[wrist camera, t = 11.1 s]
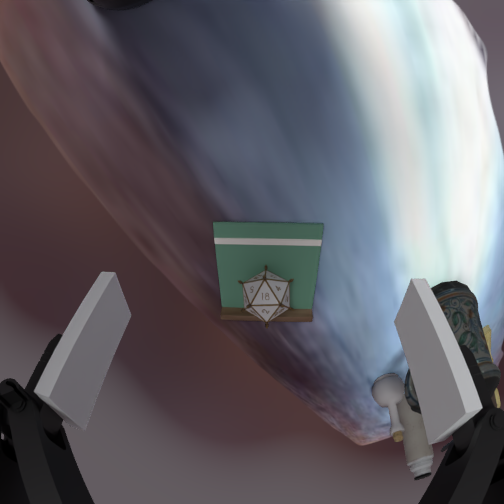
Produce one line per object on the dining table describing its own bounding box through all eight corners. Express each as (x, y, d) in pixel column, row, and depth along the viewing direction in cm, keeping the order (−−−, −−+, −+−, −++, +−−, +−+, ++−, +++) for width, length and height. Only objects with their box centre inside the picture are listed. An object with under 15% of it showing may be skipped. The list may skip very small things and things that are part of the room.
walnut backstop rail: (222, 305, 53) (220, 314, 51) (311, 307, 52) (312, 317, 50) (222, 310, 54) (221, 319, 52) (310, 311, 53) (311, 321, 51)
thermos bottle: (423, 391, 72) (442, 471, 49) (406, 404, 76) (421, 480, 53) (408, 389, 70) (425, 474, 47) (390, 402, 75) (403, 483, 52)
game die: (273, 257, 50) (309, 271, 42) (275, 303, 52) (309, 324, 44) (224, 267, 47) (253, 284, 38) (229, 316, 49) (257, 342, 40)
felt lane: (213, 221, 43) (212, 223, 43) (323, 223, 42) (323, 225, 42) (222, 305, 53) (221, 307, 53) (311, 307, 52) (311, 309, 52)
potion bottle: (376, 391, 70) (386, 448, 55) (366, 379, 66) (376, 442, 52) (405, 379, 67) (418, 437, 52) (397, 366, 63) (413, 429, 48)
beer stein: (480, 299, 50) (526, 391, 29) (417, 350, 59) (444, 443, 39) (451, 264, 45) (512, 375, 25) (378, 327, 55) (405, 440, 34)
